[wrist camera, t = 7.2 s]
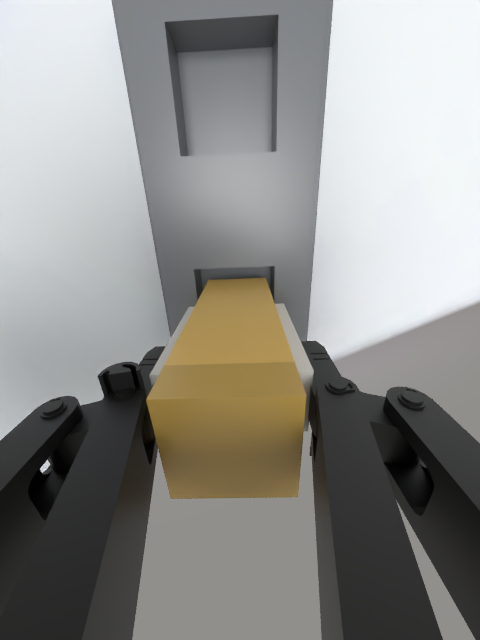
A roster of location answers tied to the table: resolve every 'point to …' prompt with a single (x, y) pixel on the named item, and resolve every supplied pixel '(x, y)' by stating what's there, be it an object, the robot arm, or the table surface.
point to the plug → (230, 399)
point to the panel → (229, 139)
